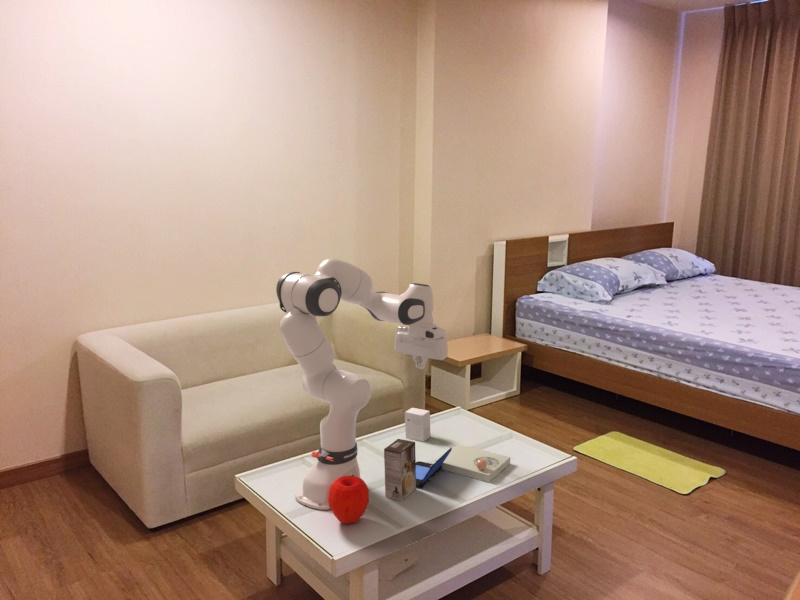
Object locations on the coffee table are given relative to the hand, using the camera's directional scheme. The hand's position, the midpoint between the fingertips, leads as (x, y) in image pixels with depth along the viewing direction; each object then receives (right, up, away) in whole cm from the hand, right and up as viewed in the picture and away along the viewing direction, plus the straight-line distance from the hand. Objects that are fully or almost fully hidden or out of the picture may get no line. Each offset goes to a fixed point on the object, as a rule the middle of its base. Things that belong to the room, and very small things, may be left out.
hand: (420, 368), depth 223 cm
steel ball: (+22, -32, -7) cm, 39 cm away
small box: (0, -29, +20) cm, 35 cm away
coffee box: (-7, -37, -22) cm, 44 cm away
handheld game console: (+1, -35, -12) cm, 37 cm away
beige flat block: (+18, -33, -5) cm, 38 cm away
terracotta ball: (+20, -30, -13) cm, 38 cm away
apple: (-22, -40, -38) cm, 60 cm away
